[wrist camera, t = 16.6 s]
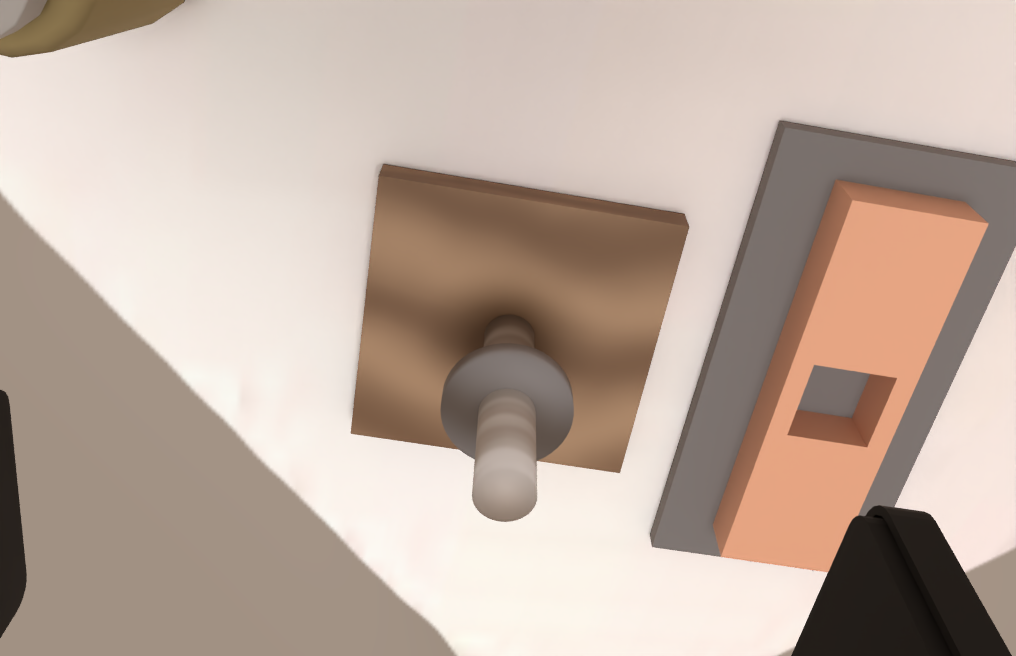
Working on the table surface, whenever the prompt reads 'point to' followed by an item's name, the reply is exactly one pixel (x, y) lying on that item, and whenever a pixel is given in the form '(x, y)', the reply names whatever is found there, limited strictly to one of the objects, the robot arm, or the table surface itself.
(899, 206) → the link
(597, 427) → the stand
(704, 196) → the table surface
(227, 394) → the table surface
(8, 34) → the squeeze bottle
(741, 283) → the mat
